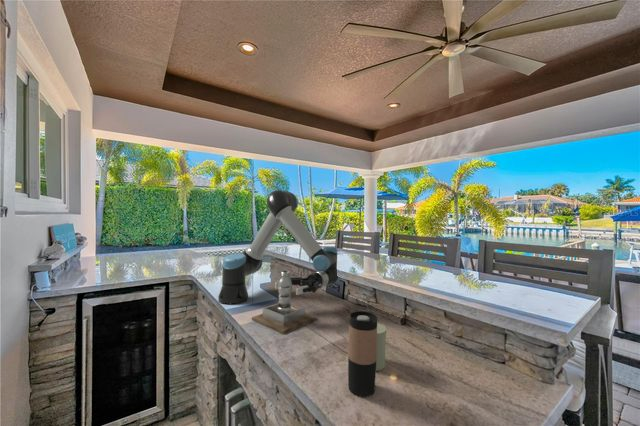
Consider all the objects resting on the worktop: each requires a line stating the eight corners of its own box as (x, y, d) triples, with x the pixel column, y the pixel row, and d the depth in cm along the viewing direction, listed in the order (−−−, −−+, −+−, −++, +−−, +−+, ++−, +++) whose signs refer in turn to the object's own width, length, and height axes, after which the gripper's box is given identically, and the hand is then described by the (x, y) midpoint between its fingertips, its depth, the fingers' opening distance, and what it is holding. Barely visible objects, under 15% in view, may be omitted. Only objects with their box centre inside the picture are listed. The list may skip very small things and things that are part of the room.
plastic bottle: (294, 315, 124) (295, 270, 124) (287, 320, 118) (288, 274, 118) (281, 313, 126) (282, 269, 126) (274, 318, 120) (275, 272, 120)
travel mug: (345, 380, 80) (347, 310, 79) (371, 379, 80) (373, 310, 80) (350, 398, 72) (352, 321, 72) (379, 397, 73) (381, 321, 72)
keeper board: (285, 308, 136) (285, 305, 136) (316, 319, 123) (316, 316, 123) (251, 320, 121) (251, 317, 121) (283, 334, 108) (283, 331, 108)
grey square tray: (283, 309, 131) (284, 301, 131) (304, 317, 122) (305, 308, 122) (262, 317, 121) (262, 308, 121) (283, 326, 113) (283, 316, 112)
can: (383, 356, 93) (384, 321, 93) (387, 372, 84) (388, 333, 84) (355, 354, 94) (356, 319, 94) (356, 369, 85) (357, 331, 85)
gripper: (337, 292, 130) (306, 303, 114) (299, 282, 146) (267, 291, 130) (337, 276, 130) (306, 285, 114) (299, 268, 146) (267, 275, 130)
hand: (285, 288), depth 122 cm, fingers open, 13 cm apart
